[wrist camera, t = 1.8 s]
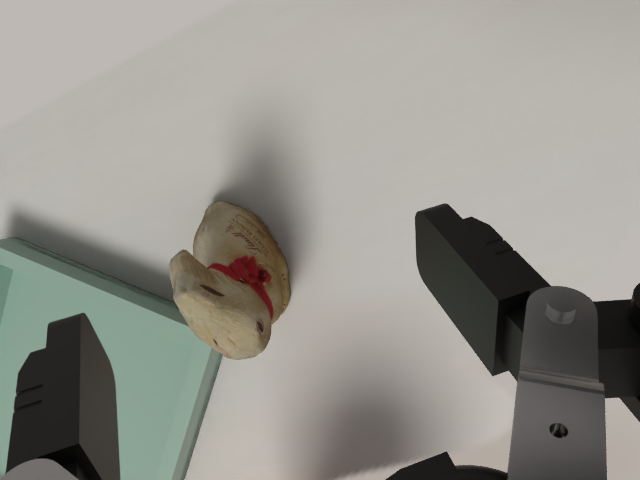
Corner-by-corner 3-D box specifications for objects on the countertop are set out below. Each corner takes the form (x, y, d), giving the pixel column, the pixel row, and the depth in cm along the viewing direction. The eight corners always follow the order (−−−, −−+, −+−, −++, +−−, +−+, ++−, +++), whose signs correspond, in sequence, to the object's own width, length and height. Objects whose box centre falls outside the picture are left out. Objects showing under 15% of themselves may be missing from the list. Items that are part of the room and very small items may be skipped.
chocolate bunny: (211, 328, 37) (120, 384, 27) (204, 201, 36) (108, 212, 26) (297, 331, 35) (234, 391, 26) (292, 198, 35) (224, 209, 25)
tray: (15, 237, 39) (-15, 241, 37) (231, 326, 36) (214, 337, 34) (-39, 471, 43) (-69, 489, 40) (155, 571, 40) (135, 597, 37)
